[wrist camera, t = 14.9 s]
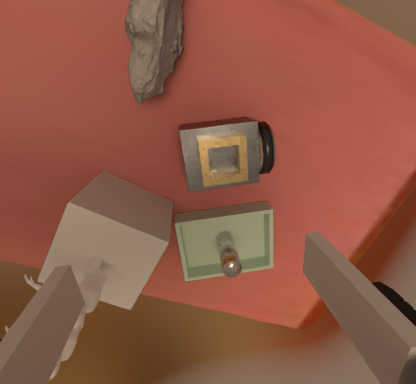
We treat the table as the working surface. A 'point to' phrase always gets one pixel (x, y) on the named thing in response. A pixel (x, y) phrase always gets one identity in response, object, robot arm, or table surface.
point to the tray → (240, 230)
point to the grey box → (108, 244)
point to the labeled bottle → (228, 254)
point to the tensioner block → (226, 152)
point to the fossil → (153, 44)
